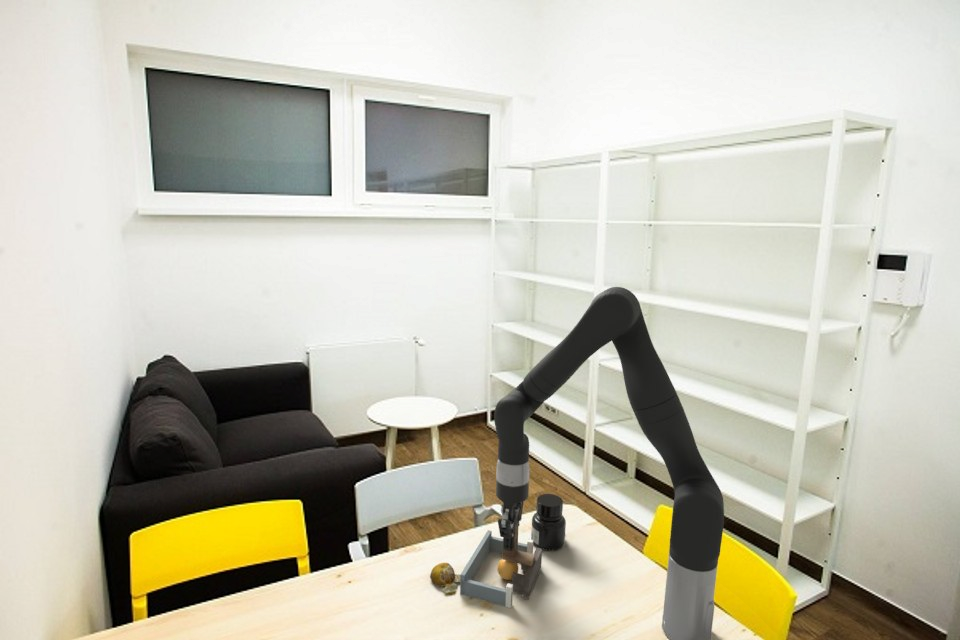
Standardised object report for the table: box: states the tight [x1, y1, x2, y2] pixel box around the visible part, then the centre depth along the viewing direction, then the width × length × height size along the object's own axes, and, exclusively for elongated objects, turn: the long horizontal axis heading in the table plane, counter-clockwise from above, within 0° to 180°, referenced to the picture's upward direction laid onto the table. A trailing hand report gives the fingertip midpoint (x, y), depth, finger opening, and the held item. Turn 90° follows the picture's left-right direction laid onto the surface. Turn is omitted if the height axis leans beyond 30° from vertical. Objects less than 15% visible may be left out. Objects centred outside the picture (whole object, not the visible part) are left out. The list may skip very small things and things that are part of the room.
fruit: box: [429, 562, 460, 595], centre depth 127 cm, size 8×8×4 cm
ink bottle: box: [530, 493, 567, 552], centre depth 143 cm, size 10×9×12 cm
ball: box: [496, 558, 519, 581], centre depth 128 cm, size 5×5×5 cm
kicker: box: [501, 520, 543, 600], centre depth 127 cm, size 8×12×14 cm, turn 160°
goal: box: [459, 529, 534, 609], centre depth 129 cm, size 12×19×5 cm, turn 160°
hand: (510, 545), depth 127 cm, fingers closed on kicker, 3 cm apart
